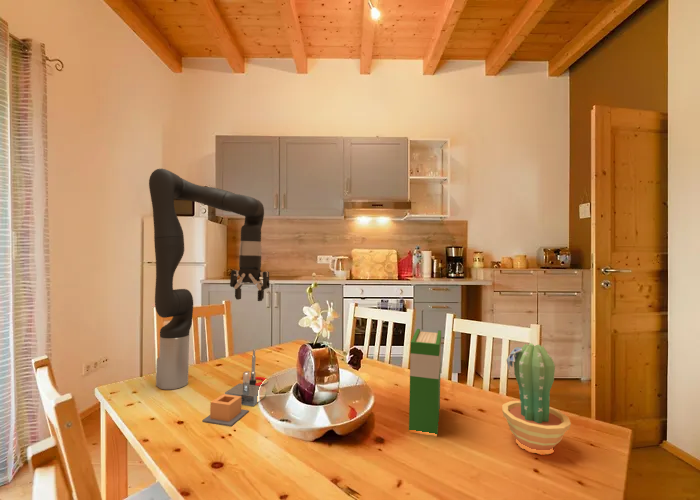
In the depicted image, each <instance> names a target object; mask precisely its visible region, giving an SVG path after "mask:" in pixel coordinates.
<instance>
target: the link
mask: <svg viewBox="0 0 700 500" xmlns="http://www.w3.org/2000/svg"><path fill="white" fill-rule="evenodd" d="M241 400H242V396H235V395H228V394H225V393H222V394H221V395H220V396H218V397H217V398H214V399H213V400H212V401H210V408H209V409H210V410H209V411H210V412H209V415H210V418H211V419H217V420H223V421H230V420H232V419H233V418H234V417H235V416H237V415H238V414H239V413H240V412H241V409H242V405H241Z"/></svg>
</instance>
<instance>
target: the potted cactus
mask: <svg viewBox="0 0 700 500" xmlns="http://www.w3.org/2000/svg"><path fill="white" fill-rule="evenodd" d="M506 364H507V368H508V370H511V368H512V367H513V369H514V371H513V372H514V376H515V378H516V382H517V385H518V392H519V400H510V401H507V402H505V403H503V404H502V406H501V407H502V415H503V417H504V418H505V419H506V422H507V425H508V427H509V430H510V432H511V434H512V435H513V436H514V439H515V438H516V439H517V440H518V441H519V442H520V443H521V444H523V445H525V446H527V447H529V448H531V449H536V450H550V449H552V448H553V447H554V448H555V447H556V446H557V445H558V444H559V443H560V442H561V441H562V439H563V437H564V435H565V433H566V432H567V431H569V430H570V428H571V424H572V422H571V420H570V418H569V416H568V415H567V414H565V413H563V412H562V411H561V410H559V409H557V408H555V407H552V406H550V398H551V397H550V396H551V395H550V394H551V393H550V392H551V389H552V386H553V384H554V381H555V369H556V365H555V362H554V360H553V358H552V357H551V355H550V354H549V352H548V351H547V350H546V347H544V346H543V345H541V344H535V345H534V344H533V343H529V344H526V343H524V344H523V346H522V347H521V346H516V347H514V348H512V350H511V352H510V353H509V355H508V356H507V359H506Z"/></svg>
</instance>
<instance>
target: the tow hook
mask: <svg viewBox="0 0 700 500" xmlns="http://www.w3.org/2000/svg"><path fill="white" fill-rule="evenodd" d="M256 357H257V356H256V349H253V350H252V355H251V372H250V383H249V385H256V386H260V385H261V384H262V382H263V381H264V380H265V379H267V378H266V377H264V376H256ZM257 381H258V382H257ZM259 381H260V382H259Z"/></svg>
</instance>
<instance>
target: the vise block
mask: <svg viewBox="0 0 700 500" xmlns="http://www.w3.org/2000/svg"><path fill="white" fill-rule="evenodd" d="M242 374H243V375H242V383H238V384H236V385H234V386H233V387H231V388H230V389H228V390H227V391H225V392H224V394H228V395H235V396H242V400H241V406H247V407H248V406H249V407H255V406H256V405H257V404H258V403H257V396H258V390H259V387H260V386H256V385H249V383H250V377H251V372H250V371H249V370H248V371H243V372H242Z"/></svg>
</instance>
